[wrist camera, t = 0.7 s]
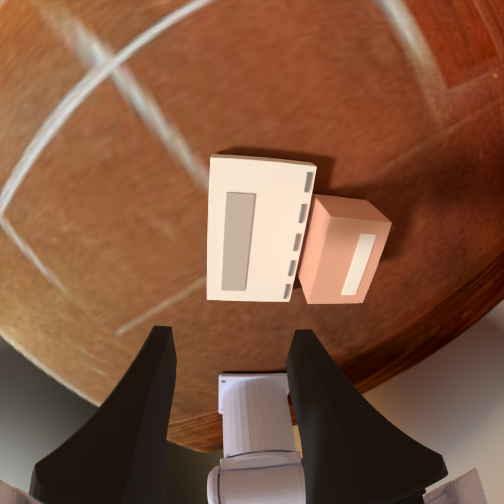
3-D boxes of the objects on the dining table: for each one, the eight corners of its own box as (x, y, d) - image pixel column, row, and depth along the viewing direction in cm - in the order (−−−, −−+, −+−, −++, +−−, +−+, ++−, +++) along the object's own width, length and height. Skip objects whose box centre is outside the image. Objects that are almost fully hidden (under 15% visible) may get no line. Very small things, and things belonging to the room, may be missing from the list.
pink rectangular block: (345, 273, 20) (362, 303, 17) (296, 271, 20) (308, 304, 17) (367, 200, 17) (392, 223, 14) (312, 193, 17) (331, 217, 14)
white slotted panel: (286, 293, 21) (289, 302, 20) (207, 290, 20) (206, 300, 19) (312, 162, 16) (317, 167, 15) (211, 153, 15) (210, 157, 14)
